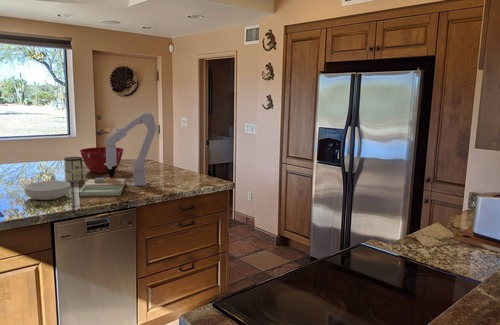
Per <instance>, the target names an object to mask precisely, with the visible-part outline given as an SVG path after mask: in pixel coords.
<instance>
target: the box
mask: <svg viewBox="0 0 500 325" xmlns="http://www.w3.org/2000/svg"><path fill="white" fill-rule="evenodd" d="M123 191H124V188H123V186H82V187H81V188H80V190H79V191H78V197H79V198H80V197H81V198H82V197H86V198H87V197H119V196H120V197H121V196H122V193H123Z"/></svg>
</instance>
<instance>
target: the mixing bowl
mask: <svg viewBox="0 0 500 325" xmlns="http://www.w3.org/2000/svg"><path fill="white" fill-rule="evenodd" d="M124 150H125V149H124V148H123V147H116V163H117V165H116V166H117V168H118V167H119V165H120V163H121V160H122V158H123V153H124ZM79 153H80V154H81V157H82V161H83V162H84V165H85V166H86V168H87V169H88V170H89V171H91V172H93V173H94V174H107V173H108V171H107V169H106V167H108V166H106V165H104V164H105V163H106V146H105V147H104V146H103V147H98V146H97V147H87V148H81V149H80V150H79Z"/></svg>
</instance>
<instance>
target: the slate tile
mask: <svg viewBox="0 0 500 325" xmlns="http://www.w3.org/2000/svg"><path fill="white" fill-rule="evenodd" d="M94 179H95V183H104V182H105V179H106V177H95V178H94Z"/></svg>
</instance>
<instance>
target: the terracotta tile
mask: <svg viewBox="0 0 500 325" xmlns="http://www.w3.org/2000/svg"><path fill="white" fill-rule="evenodd" d="M105 179H106V183H115V181H116V179H117V178H116V177H114V178H109V177H105Z"/></svg>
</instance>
